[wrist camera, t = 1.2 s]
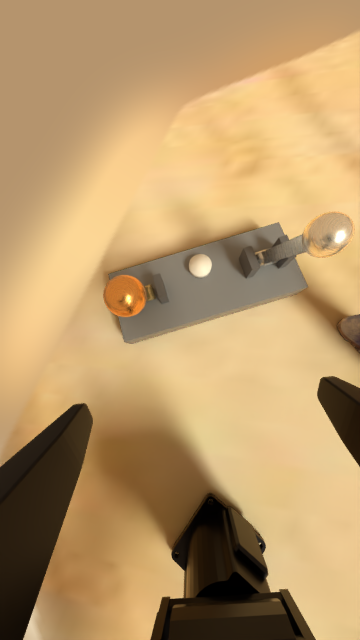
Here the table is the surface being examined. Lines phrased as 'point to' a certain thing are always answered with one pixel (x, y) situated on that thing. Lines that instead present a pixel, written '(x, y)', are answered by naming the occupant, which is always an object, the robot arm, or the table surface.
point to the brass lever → (127, 295)
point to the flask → (351, 330)
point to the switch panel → (210, 283)
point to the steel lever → (314, 239)
